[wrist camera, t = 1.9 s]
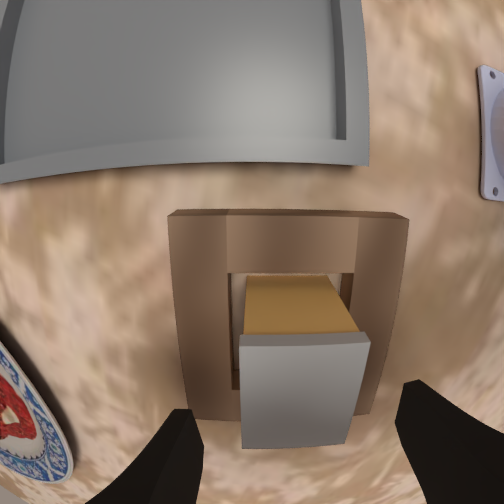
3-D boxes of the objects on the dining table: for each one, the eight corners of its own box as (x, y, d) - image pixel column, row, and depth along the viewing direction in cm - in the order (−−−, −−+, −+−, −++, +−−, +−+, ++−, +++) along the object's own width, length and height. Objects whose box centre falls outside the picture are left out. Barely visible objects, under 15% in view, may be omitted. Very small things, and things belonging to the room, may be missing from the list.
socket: (393, 212, 15) (409, 219, 13) (362, 395, 18) (369, 413, 16) (177, 209, 15) (167, 216, 13) (194, 399, 18) (190, 418, 16)
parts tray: (333, -79, 10) (340, -98, 7) (353, 165, 14) (368, 166, 12) (31, -32, 10) (15, -42, 8) (1, 183, 14) (-22, 188, 12)
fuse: (329, 273, 16) (370, 341, 9) (319, 358, 17) (344, 443, 11) (245, 273, 16) (239, 346, 9) (245, 359, 17) (241, 448, 11)
